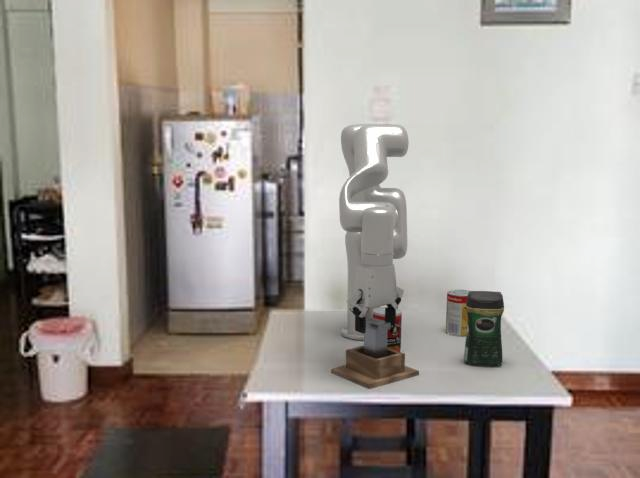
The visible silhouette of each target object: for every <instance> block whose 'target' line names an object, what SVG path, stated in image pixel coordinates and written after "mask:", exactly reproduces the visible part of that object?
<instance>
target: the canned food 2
mask: <svg viewBox="0 0 640 478" xmlns="http://www.w3.org/2000/svg"><path fill="white" fill-rule="evenodd" d="M469 291H470V290H467V289H460V288H459V289H458V288H457V289H450V290H447V292H446V314H445V317H446V318H445V319H446V321H445V333H446V332H447V333H449V334H448V335H450V334H452V335H451V336H453V335H457V336H456V337H466V335H467V325H468V315H467V311H466V301H467V296H468V292H469ZM447 333H446V334H447Z"/></svg>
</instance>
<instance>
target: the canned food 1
mask: <svg viewBox="0 0 640 478" xmlns="http://www.w3.org/2000/svg"><path fill="white" fill-rule="evenodd" d="M386 307H387V306H381V307H380V308H376V309H374V310H373V318H376V319H380V320H383V321H385V308H386ZM387 308H388V307H387ZM402 316H403V314H402V310H401V309H400V308H398V309H397V310H396V325H395V326H391V328H390V329H388V332H387V348H390V349H393V350H396V351H399V352H401V348H402V321H403V320H402Z"/></svg>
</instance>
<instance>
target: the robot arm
mask: <svg viewBox="0 0 640 478" xmlns="http://www.w3.org/2000/svg"><path fill="white" fill-rule="evenodd" d="M340 145H341V150H342V151H341V152H342V155H343V158H344V161H345V163H346V166H347V169H348V170H347V171H348V172H349V176H348V178H347V179H346V180H345V182H344V183H343V185H342V187H341V190H340V192H339V197H338V198H339V199H338V200H339V201H338V203H339V206H338V207H339V211H338V213H339V223H340V226H341V228H342V229H343V231H345V232H346V233H345V235H344V236H345V237H344V242H345V243H344V245H345V252H346V259H347V300H346V303H347V304H346V305H347V308H346V309H347V311H346V312H347V313H346V320H347V321H346V326H345V327H343V328H342V329H341V335H342V336H343V337H345V338H347V339H351V340H358V341H364V333H365V332H366V319H370V318H373V310H374V309H376V308H380V307H384V306H385V307H386V308H385V321H386V322H389V323H391V326H395V325H396V310H397V309H399V305H400V303H401V301H402V297H403V295H404V293H405V290H404V289H402V288H401V287H399V286H397V276H396V268H395V264H394V260H399V259H403V258H404V257H405V256H406V254H407V251H408V215H407V214H408V213H407V200H406V196H405V193H404V191H402V189H400V188H396V187H381V186H380V185H381V184H382V183H384V181H386V179H387V178H388V175H389V167H388V158H403V157H405V156H406V155H407V154H408V153H407V152H408V150H409V135H408V132H407V130H406V128H405V127H404V126H403V125H401V124H395V123H394V124H393V123H392V124H391V123H390V124H389V123H388V124H386V123H385V124H384V123H383V124H381V123H379V124H377V123H375V124H374V123H355V124H351V125H347V126H345V127H344V128H343V129H342V131H341V134H340ZM387 307H388V308H387Z"/></svg>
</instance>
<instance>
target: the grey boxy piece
mask: <svg viewBox="0 0 640 478" xmlns="http://www.w3.org/2000/svg"><path fill="white" fill-rule="evenodd" d="M390 328H391V323H389V322H386V321H383V320H380V319H376V318H370V319H366V332H365V333H364V340H363V346H364V354H365V355H367V356H370V357H373V358H375V359H378V358H382V357H386V356H387V332H388V329H390Z"/></svg>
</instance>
